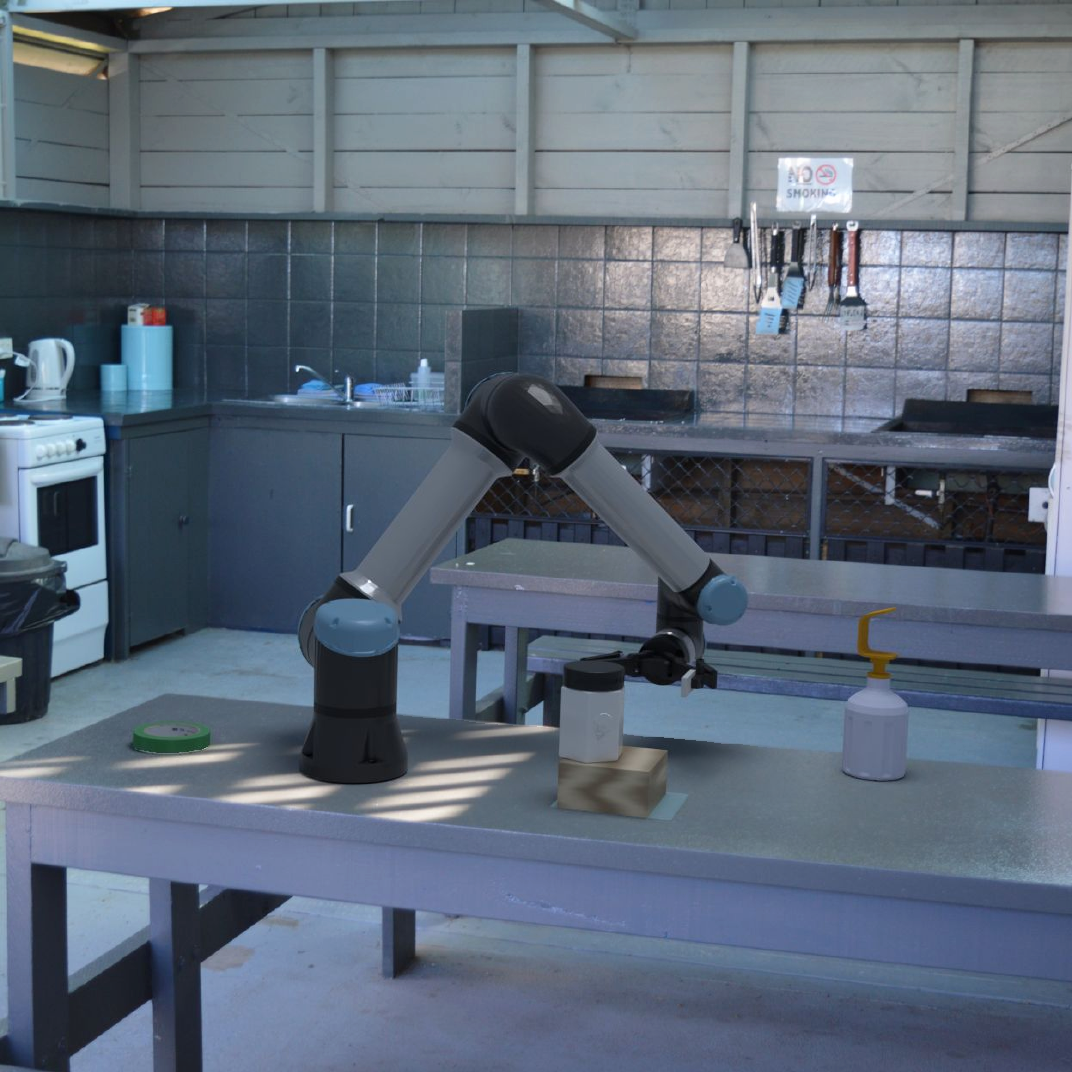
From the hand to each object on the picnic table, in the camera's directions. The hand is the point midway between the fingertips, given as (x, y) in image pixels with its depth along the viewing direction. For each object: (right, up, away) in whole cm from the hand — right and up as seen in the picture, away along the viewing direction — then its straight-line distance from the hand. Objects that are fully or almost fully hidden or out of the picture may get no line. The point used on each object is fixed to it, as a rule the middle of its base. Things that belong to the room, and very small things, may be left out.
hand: (635, 683), depth 206 cm
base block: (-4, -15, -10) cm, 18 cm away
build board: (-3, -15, -9) cm, 18 cm away
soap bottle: (+35, -14, +10) cm, 40 cm away
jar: (-7, -9, -10) cm, 15 cm away
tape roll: (-68, -11, +13) cm, 70 cm away
